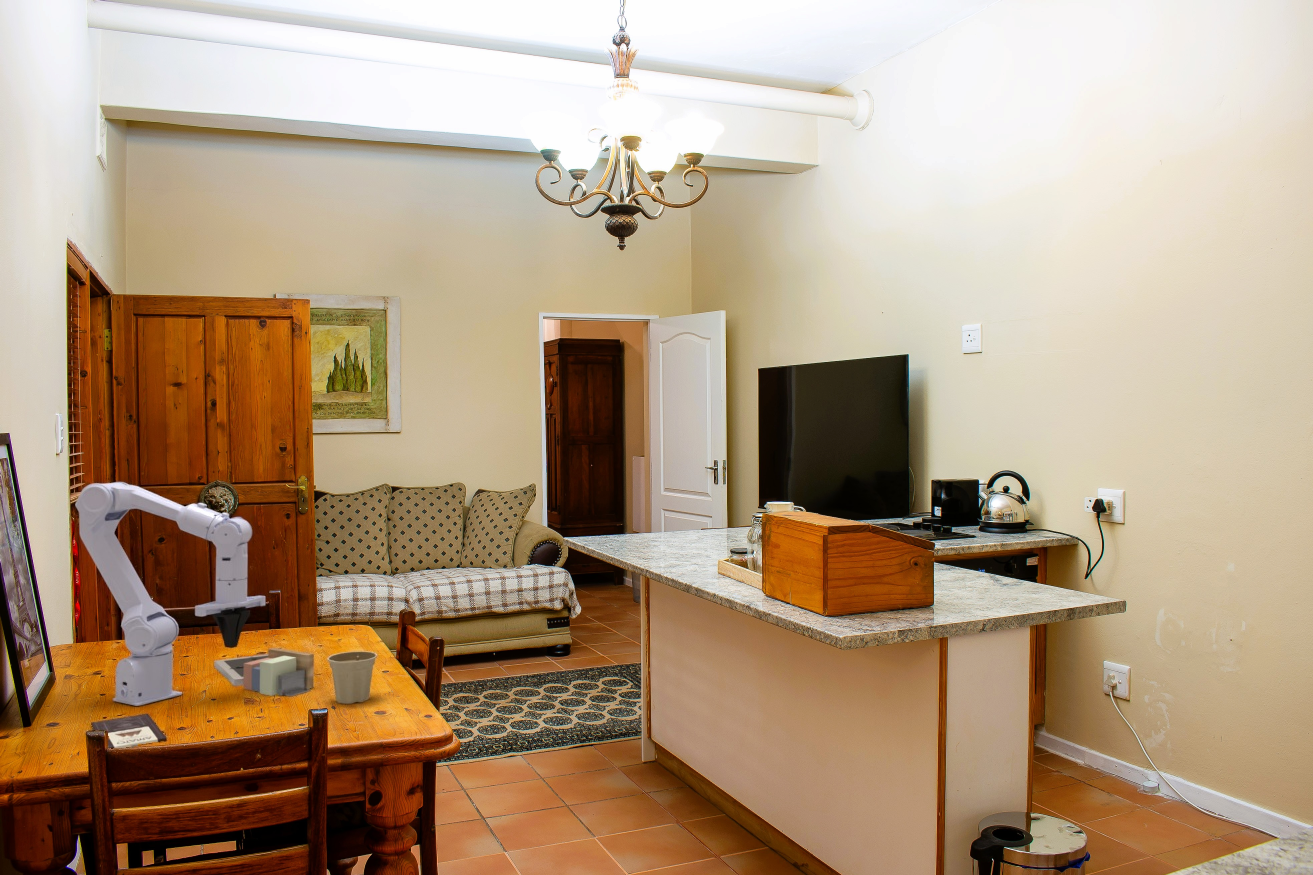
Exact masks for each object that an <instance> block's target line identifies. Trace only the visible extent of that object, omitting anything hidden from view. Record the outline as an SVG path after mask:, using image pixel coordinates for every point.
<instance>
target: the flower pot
mask: <svg viewBox="0 0 1313 875" xmlns="http://www.w3.org/2000/svg"><path fill="white" fill-rule="evenodd" d="M377 657H378V654H377V653H376V652H372V651H368V650H367V651H366V650H359V651H358V650H356V651H355V650H354V651H346V652H344V651H343V652H339V653H335V654H331V655H329V656H327V658H326V660H327V662H328V663H329V667H330V669H331V672H332V673H331V674H332V680H333V687H334V688H333V689H334V694H335V701H336V702H337V703H338V704H342V705H344V704H347V705H352V704H354V703H362V702H363V703H364V702H366V701H368V700H369V699H370V694H371V693H370V692H371V687H372V686H371V685H372V677H373V669H374V665H375V664H376V659H377Z"/></svg>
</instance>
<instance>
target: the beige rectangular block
mask: <svg viewBox="0 0 1313 875" xmlns="http://www.w3.org/2000/svg"><path fill="white" fill-rule="evenodd" d="M293 671H296V657H289V656H281V657H277V658H273V659H269V660H265V661H260V692H259V694H261V695H266V696H270V697H272V696H276V695H278V675H282V674H286V673H289V672H293Z"/></svg>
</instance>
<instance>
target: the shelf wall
mask: <svg viewBox="0 0 1313 875" xmlns="http://www.w3.org/2000/svg"><path fill="white" fill-rule="evenodd" d="M267 651H268V652H267V654H268V658H277V657H281V656H289V657H296V671H297V670H301V669H305V670H306V689H310V688H311V689H313V688H314V677H315V676H314V675H315V674H314V672H315V671H314V669H315V668H314V664H315V663H314V661H315V658H314V655H315V654H314V653H311V652H305V651H299V650H298V651H297V650H291V649H283V648H277V647H272V648H268V650H267Z"/></svg>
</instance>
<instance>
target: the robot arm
mask: <svg viewBox="0 0 1313 875" xmlns="http://www.w3.org/2000/svg"><path fill="white" fill-rule="evenodd" d="M79 493H80V494H79V495H78V498H77V499H76V501H75V503H74V504H75V508H76V509H77V511H78V517H79V518H78V520H79V524H78V525H79V537H80V539H81V541H82V544H84V546H85V548H86V550H87V552H88V553H89V555H90V557H91V559H92V560H93V562H94V564H95V566H96V568H97V569H98V571H99V573H100V575H101V576H102V578H103V580H104V582H105V583H106V585H107V588H109V590H110V593H111V594H112V596H113V597H114V600H115V601H116V603H117V605H118V607H119V608H120V610H121V612H122V613H123V616H122V620H121V625H120V627H121V628H122V631H123V633H124V643H125V646H126V648H127V649H128V651H129V652H130V655H128V657H125V658H122V659H120V660H119V661H118V663H117V665H116V668H115V697H114V698H112V701H113V702H117V703H122V704H126V705H129V706H130V705H132V706H135V707H138V706H143V705H147V704H151V703H154V702H155V703H156V702H159V701H163V700H167V699H171V698H174V697H178V696H182V695H183V692H182V691H177V690H173V667H174V666H173V663H174V662H173V658H174V657H173V655H174V654H173V653H174V650H173V649H174V648H173V643H174V642H175V640H177V638H178V636H179V630H180V628H179V624H178V622H177V621H176V619H175V618H174V617H172V616H170V615H169V614H168V613H167V612H166V611H165V609H164V607H163V606H162V605H160V604H158V603H157V602H155V601H153V600H152V598H151V596H150V595H149V593H148V591H147V589H146V588H145V585H144V584H143V582H142V580H141V578H140V577H139V575H138V573H137V571H136V570H135V568H134V566H133V564H132V562H131V561H130V559H129V557H128V555H127V554H126V552H125V550H124V549H123V548H124V547H122V545H121V543H120V540H119V539H118V538H117V536H116V534H115V531H116V529H117V527H118V524H119V523H120V521H121V520H122V519H123V517H124V516H125V515H126V514H127V513H128V512H129V511H130V510H134V509H138V510H141V511H143V512H147V513H150V514H153V515H156V516H159V517H162V518H165V519H168V520H172V521H175V522H176V523H177V526H178V528H179V529H180V531H184V533H185V532H186V533H188V534H191V535H193V536H196V537H199V538H202V539H203V540H206V541H209V542H212V543H213V545H214V546H215V548H216V549H215V551H216V557H215V601H210V602H207V603H203V604H198V605H195V606H194V615H195V616H196V617H206V616H208V615H211V616H212V618H213V620H214V621H215V622H216V625H217V627H218V628H219V631H220V634H221V637H222V640H223V645H224V648H230V649H232V648H233V649H234V648H237V647H238V643H239V641H240V637H241V634H242V630H243V629H244V626H245V624H246V622H247V620H248V619H249V617H250V616H251V610H250V609H248V608H254V607H265V606H266V596H265V595H255V596H248V556H249V555H248V542H249V541H250V540H251V538H252V536H253V529H252V528H253V527H252V526H251V524H250V523H249V522H248V521H247V520H246V519H244V518H243V517H242V516H235V517H231V518H230V514H229V513H228V512H222V513H221V512H218V511H216V510H213V509H211V508H208V507H207V506H208V505H207V504H206V503H203V502H198V503H191V504H190V503H189V504H188V505H186V506H184V505H182V504H179V503H178V502H175V501H172V500H171V499H168V498H165V497H163V496H160V495H159V494H156V493H154V492H152V491H149V490H146V489H145V488H142V487H140V486H137V485H135V484H134V485H133V484H128V483H126V482H124V481H115V482H111V483H110V482H107V483H99V482H98V483H97V482H96V483H95V482H94V483H90V484H88V485H86V486H85V487H83V489H82V490H81V491H80V492H79Z"/></svg>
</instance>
